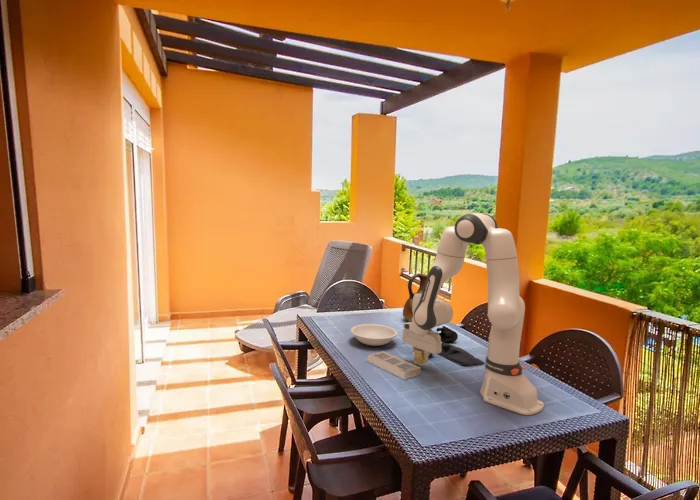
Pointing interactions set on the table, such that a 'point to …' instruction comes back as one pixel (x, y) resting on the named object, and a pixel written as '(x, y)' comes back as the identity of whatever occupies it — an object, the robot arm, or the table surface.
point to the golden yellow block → (419, 356)
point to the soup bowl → (373, 334)
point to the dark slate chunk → (459, 355)
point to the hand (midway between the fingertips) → (420, 358)
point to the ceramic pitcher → (408, 305)
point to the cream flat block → (394, 365)
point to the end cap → (447, 335)
